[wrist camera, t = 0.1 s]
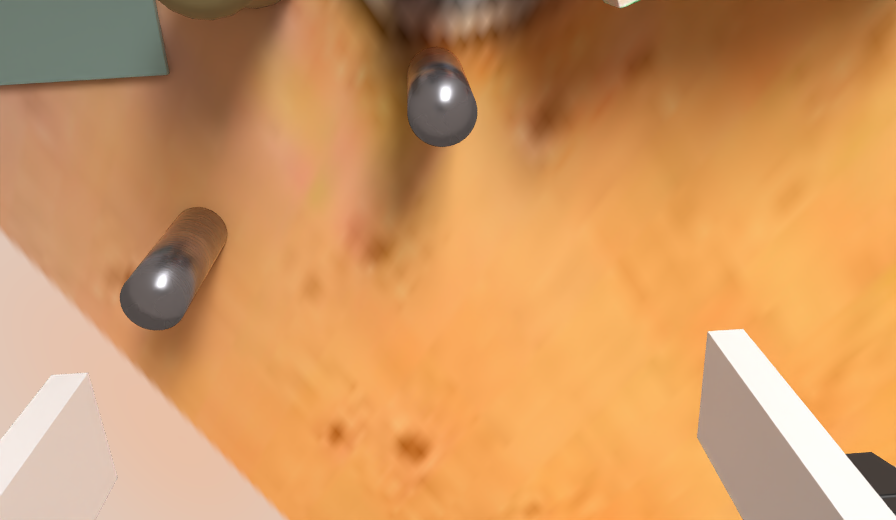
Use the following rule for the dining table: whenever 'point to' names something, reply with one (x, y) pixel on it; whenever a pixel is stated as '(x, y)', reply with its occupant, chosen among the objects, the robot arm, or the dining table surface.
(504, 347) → the dining table surface
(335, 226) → the dining table surface
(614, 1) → the stack of blocks
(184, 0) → the cork
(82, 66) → the mat
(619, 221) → the dining table surface
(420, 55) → the spacer posts
